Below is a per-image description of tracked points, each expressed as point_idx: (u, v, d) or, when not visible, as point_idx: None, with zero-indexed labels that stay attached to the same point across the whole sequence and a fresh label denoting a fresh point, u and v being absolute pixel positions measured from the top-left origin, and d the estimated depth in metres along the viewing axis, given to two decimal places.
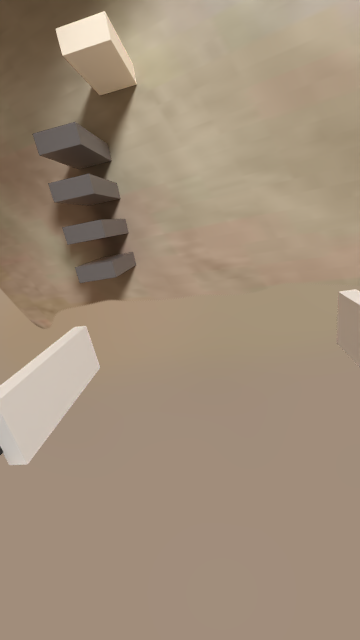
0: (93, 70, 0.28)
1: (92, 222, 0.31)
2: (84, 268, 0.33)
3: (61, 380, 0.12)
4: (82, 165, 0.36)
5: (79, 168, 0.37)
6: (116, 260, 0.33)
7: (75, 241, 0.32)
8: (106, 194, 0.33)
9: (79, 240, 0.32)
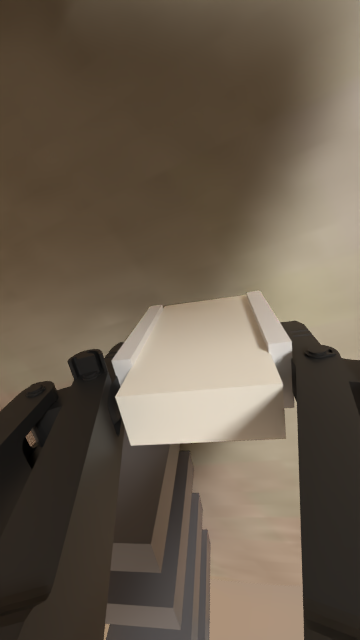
0: None
1: None
2: None
3: None
4: None
5: None
6: None
7: None
8: (187, 540, 0.17)
9: None
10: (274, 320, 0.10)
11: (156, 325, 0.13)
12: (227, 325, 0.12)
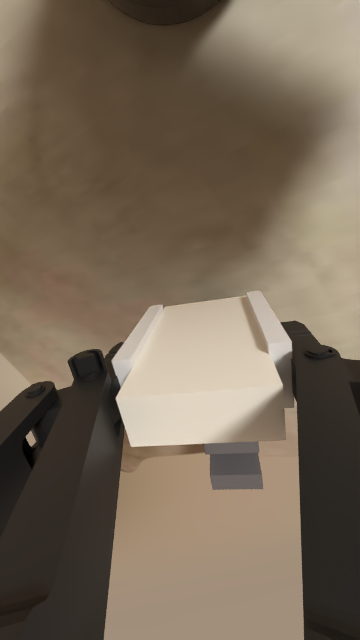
0: None
1: None
2: (223, 477, 0.26)
3: None
4: None
5: None
6: (259, 462, 0.27)
7: (217, 452, 0.25)
8: None
9: (222, 452, 0.25)
10: (274, 320, 0.10)
11: (156, 326, 0.13)
12: (228, 326, 0.12)
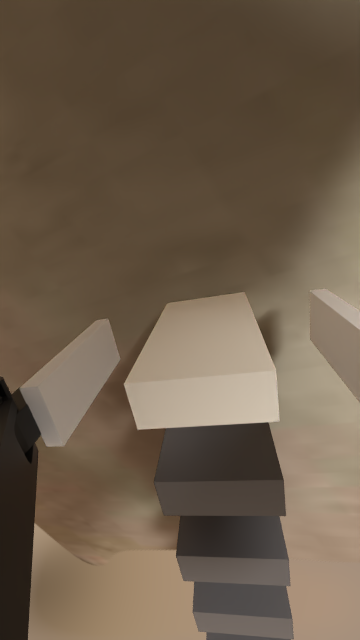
0: None
1: (269, 618, 0.13)
2: None
3: (89, 369, 0.12)
4: None
5: None
6: None
7: (218, 631, 0.14)
8: None
9: (227, 632, 0.14)
10: None
11: (159, 321, 0.14)
12: (226, 320, 0.13)
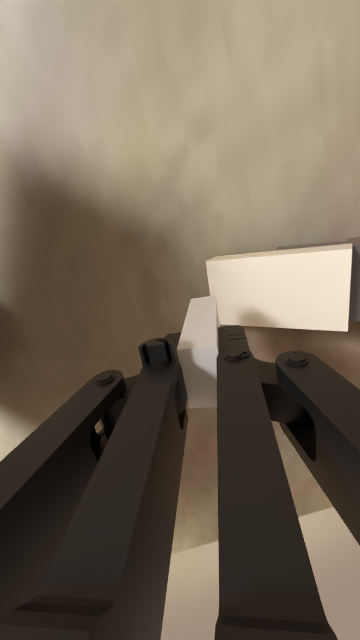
0: None
1: None
2: None
3: None
4: None
5: None
6: None
7: None
8: None
9: None
10: (212, 325, 0.11)
11: (254, 324, 0.19)
12: (268, 275, 0.17)
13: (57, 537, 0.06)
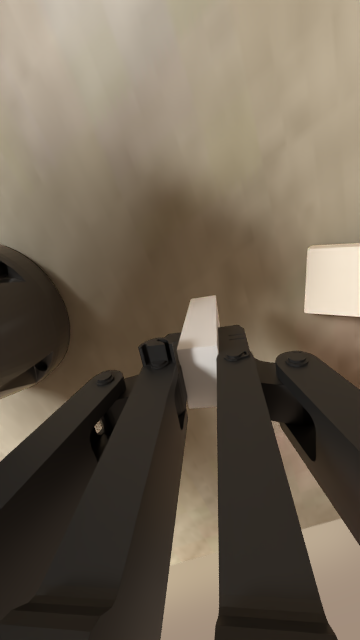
0: None
1: None
2: None
3: None
4: None
5: None
6: None
7: None
8: None
9: None
10: (212, 325, 0.11)
11: (352, 314, 0.19)
12: None
13: (58, 537, 0.06)
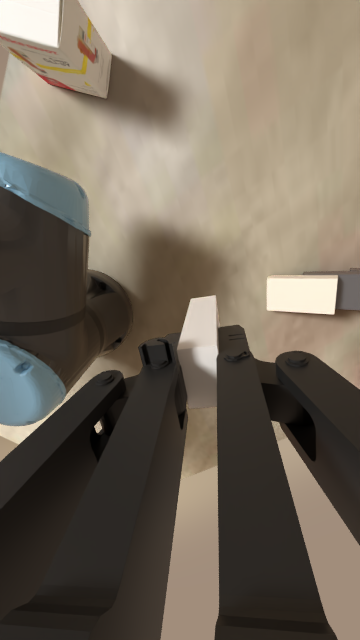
0: None
1: None
2: None
3: None
4: None
5: None
6: None
7: None
8: None
9: None
10: (212, 325, 0.11)
11: (289, 310, 0.39)
12: (299, 287, 0.37)
13: (58, 537, 0.06)
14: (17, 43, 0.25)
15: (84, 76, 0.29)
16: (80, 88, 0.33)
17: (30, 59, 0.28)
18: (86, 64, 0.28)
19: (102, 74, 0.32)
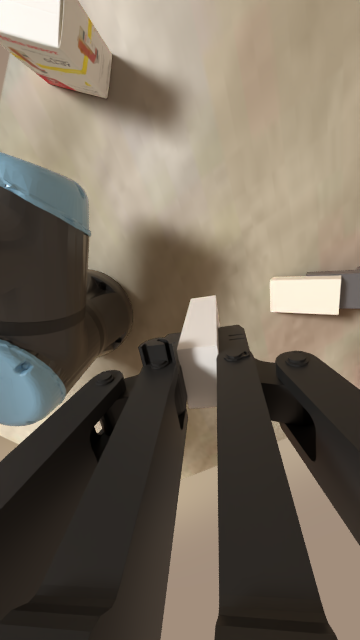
0: None
1: None
2: None
3: None
4: None
5: None
6: None
7: None
8: None
9: None
10: (212, 325, 0.11)
11: (293, 312, 0.39)
12: (302, 288, 0.37)
13: (58, 538, 0.06)
14: (18, 43, 0.25)
15: (84, 76, 0.29)
16: (80, 88, 0.33)
17: (30, 59, 0.28)
18: (86, 64, 0.28)
19: (102, 74, 0.32)
